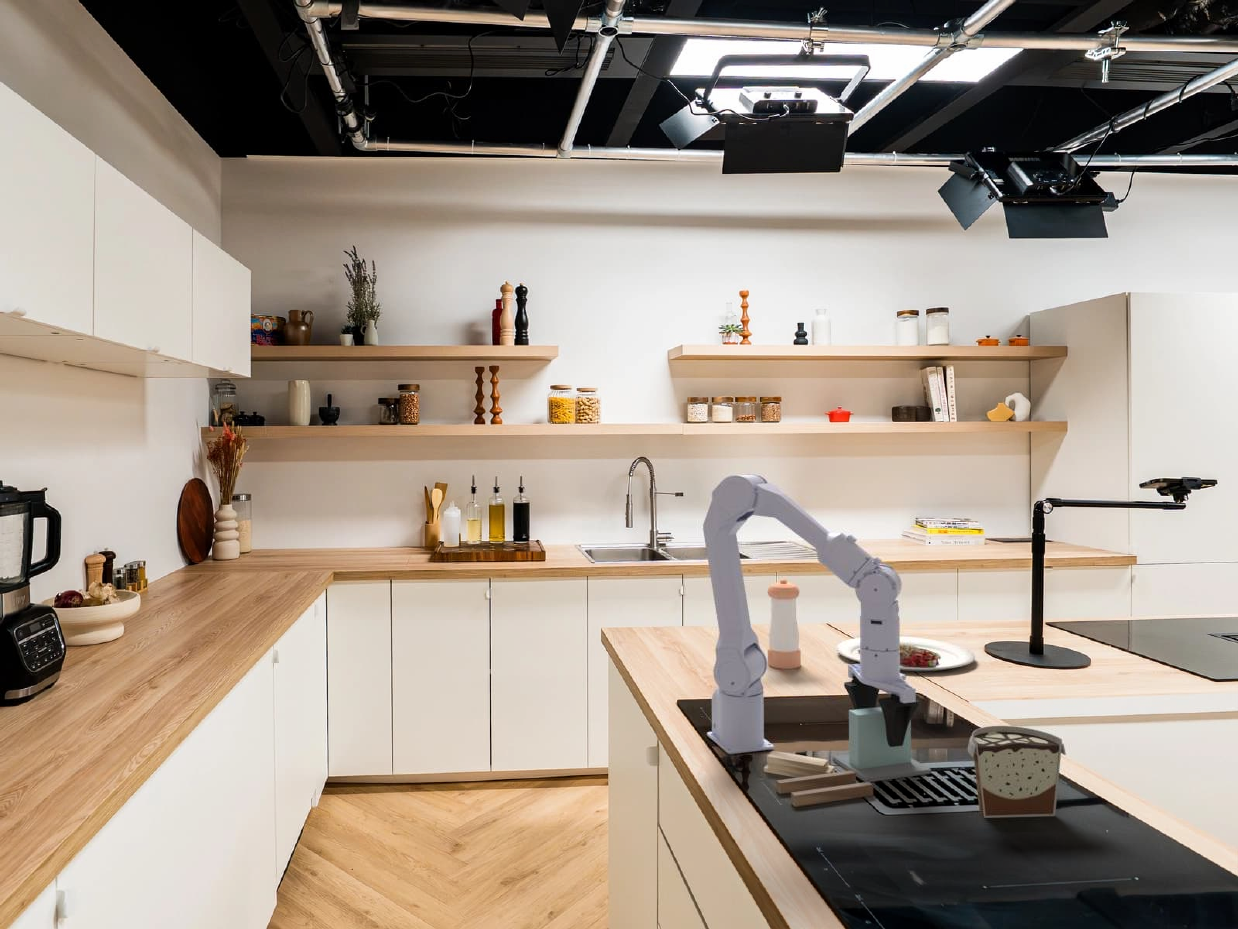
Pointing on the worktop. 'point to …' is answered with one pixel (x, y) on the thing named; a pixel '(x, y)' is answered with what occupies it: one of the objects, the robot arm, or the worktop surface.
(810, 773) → the offcut planks
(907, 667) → the plated food
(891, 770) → the slate mat
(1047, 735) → the food container
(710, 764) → the worktop surface
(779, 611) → the pepper shaker
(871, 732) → the tall board
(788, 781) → the walnut rack
